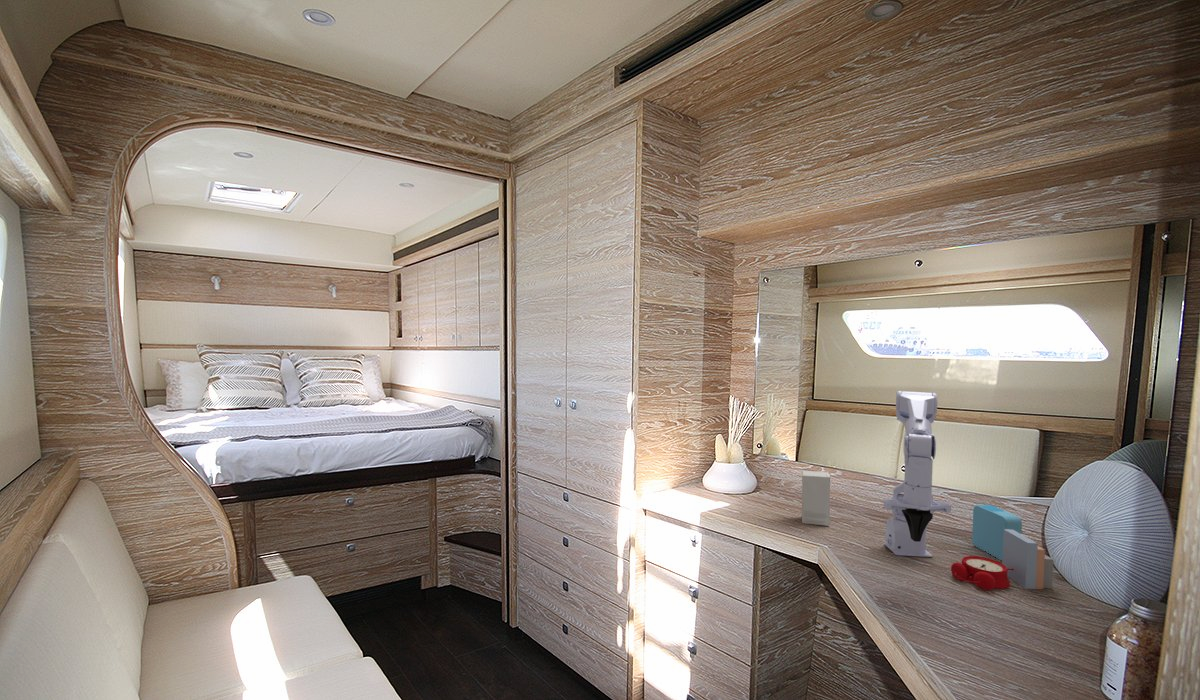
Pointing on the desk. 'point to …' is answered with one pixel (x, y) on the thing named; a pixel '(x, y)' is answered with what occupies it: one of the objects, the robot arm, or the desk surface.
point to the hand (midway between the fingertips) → (915, 540)
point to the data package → (992, 528)
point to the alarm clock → (981, 572)
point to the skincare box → (816, 498)
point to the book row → (1026, 561)
